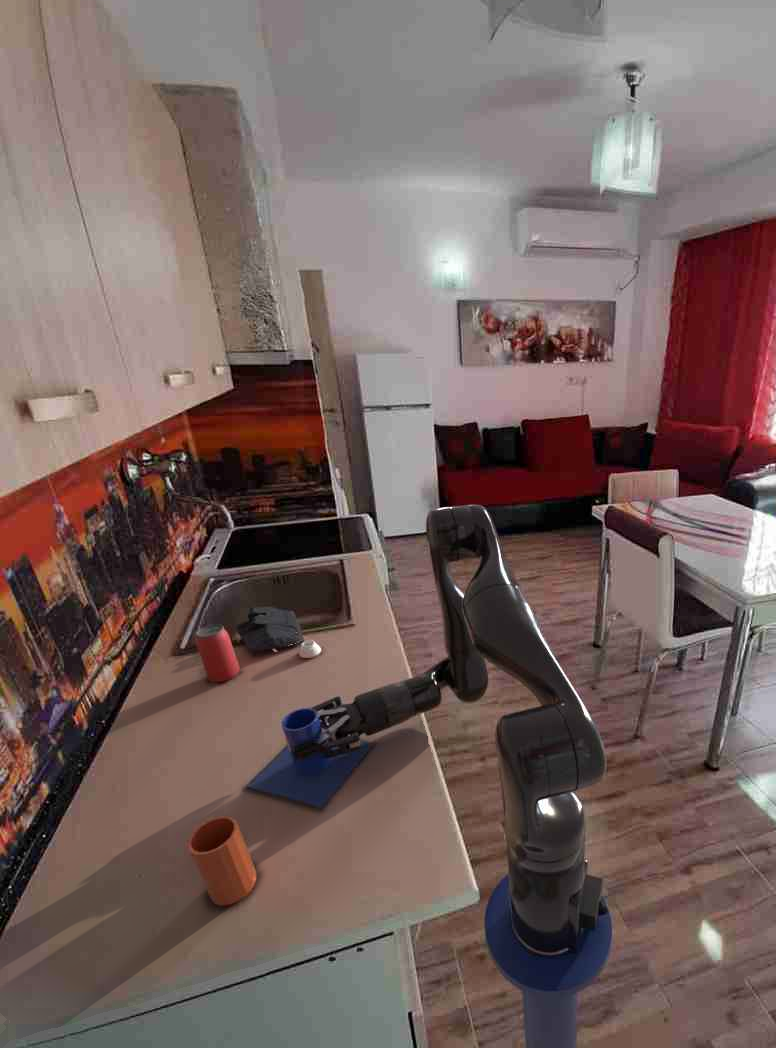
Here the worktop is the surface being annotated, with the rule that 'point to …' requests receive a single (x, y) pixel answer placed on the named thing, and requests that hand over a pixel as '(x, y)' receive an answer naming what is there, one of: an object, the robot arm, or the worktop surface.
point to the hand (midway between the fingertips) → (290, 742)
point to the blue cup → (304, 739)
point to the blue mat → (307, 777)
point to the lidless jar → (309, 649)
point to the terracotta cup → (222, 860)
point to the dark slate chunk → (269, 629)
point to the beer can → (217, 653)
